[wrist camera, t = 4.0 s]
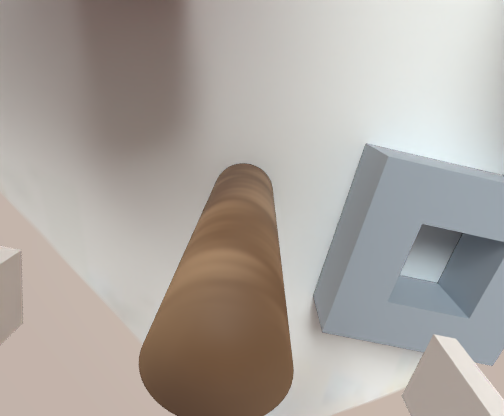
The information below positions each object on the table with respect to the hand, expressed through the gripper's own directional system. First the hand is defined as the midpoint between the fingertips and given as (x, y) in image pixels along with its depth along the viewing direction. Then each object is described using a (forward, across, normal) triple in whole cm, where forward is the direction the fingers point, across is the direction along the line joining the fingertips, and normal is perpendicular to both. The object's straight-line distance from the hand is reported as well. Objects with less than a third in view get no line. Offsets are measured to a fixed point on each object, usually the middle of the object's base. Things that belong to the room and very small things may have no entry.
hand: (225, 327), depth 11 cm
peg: (+13, 0, 0) cm, 13 cm away
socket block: (+13, +13, 0) cm, 18 cm away
